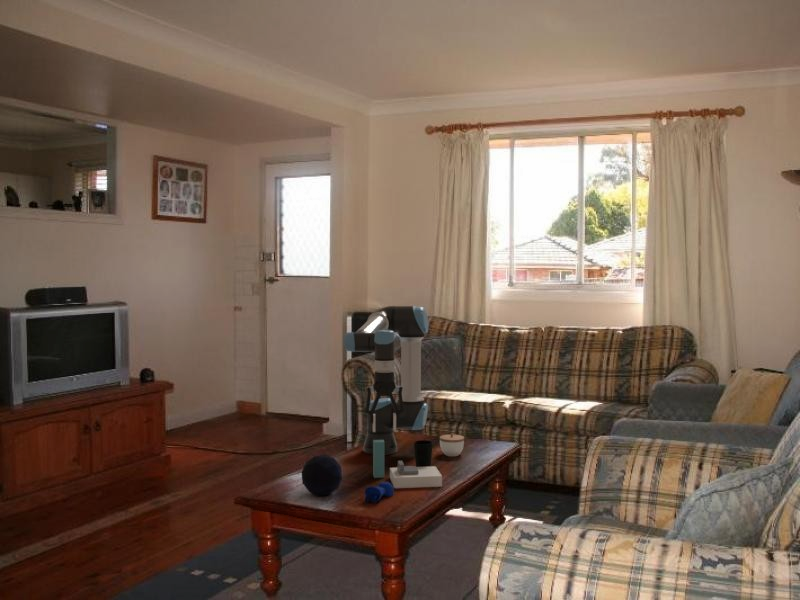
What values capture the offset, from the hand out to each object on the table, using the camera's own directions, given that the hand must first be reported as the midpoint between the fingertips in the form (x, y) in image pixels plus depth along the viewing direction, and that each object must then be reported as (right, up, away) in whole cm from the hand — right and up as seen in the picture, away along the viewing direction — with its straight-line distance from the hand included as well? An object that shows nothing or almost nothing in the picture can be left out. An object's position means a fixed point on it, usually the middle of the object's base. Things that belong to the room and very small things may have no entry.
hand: (384, 431), depth 298 cm
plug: (-2, -20, +11) cm, 22 cm away
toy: (-1, -21, -17) cm, 27 cm away
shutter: (+9, -16, +2) cm, 18 cm away
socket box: (+12, -20, +3) cm, 23 cm away
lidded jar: (+29, -18, +45) cm, 57 cm away
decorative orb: (-22, -21, -13) cm, 33 cm away
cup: (+15, -19, +17) cm, 30 cm away
